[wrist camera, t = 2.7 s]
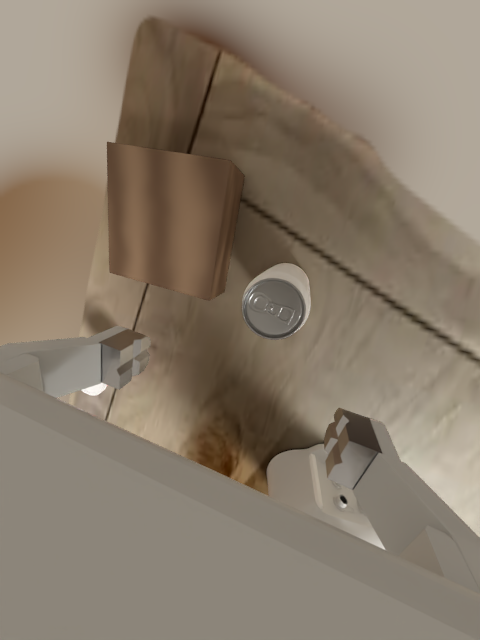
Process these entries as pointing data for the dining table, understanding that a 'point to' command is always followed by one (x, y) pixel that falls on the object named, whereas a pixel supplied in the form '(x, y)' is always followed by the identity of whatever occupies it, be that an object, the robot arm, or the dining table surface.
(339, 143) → the dining table surface
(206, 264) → the riser block
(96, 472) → the robot arm
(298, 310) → the can
